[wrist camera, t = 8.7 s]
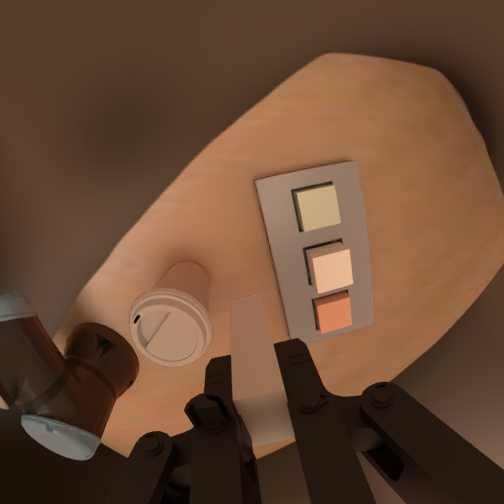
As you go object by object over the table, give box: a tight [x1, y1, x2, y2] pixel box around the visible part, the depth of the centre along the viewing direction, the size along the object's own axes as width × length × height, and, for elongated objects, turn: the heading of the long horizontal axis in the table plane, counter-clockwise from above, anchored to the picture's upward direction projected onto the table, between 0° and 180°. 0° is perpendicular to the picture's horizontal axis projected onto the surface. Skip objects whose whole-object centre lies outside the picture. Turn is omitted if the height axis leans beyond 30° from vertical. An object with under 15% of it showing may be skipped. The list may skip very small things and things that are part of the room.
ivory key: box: [306, 242, 353, 294], centre depth 36 cm, size 5×5×4 cm
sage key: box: [292, 184, 341, 232], centre depth 36 cm, size 5×5×4 cm
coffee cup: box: [129, 261, 213, 367], centre depth 34 cm, size 10×10×15 cm
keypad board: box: [254, 161, 374, 344], centre depth 39 cm, size 14×26×3 cm, turn 13°
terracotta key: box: [312, 290, 352, 334], centre depth 40 cm, size 5×5×4 cm
